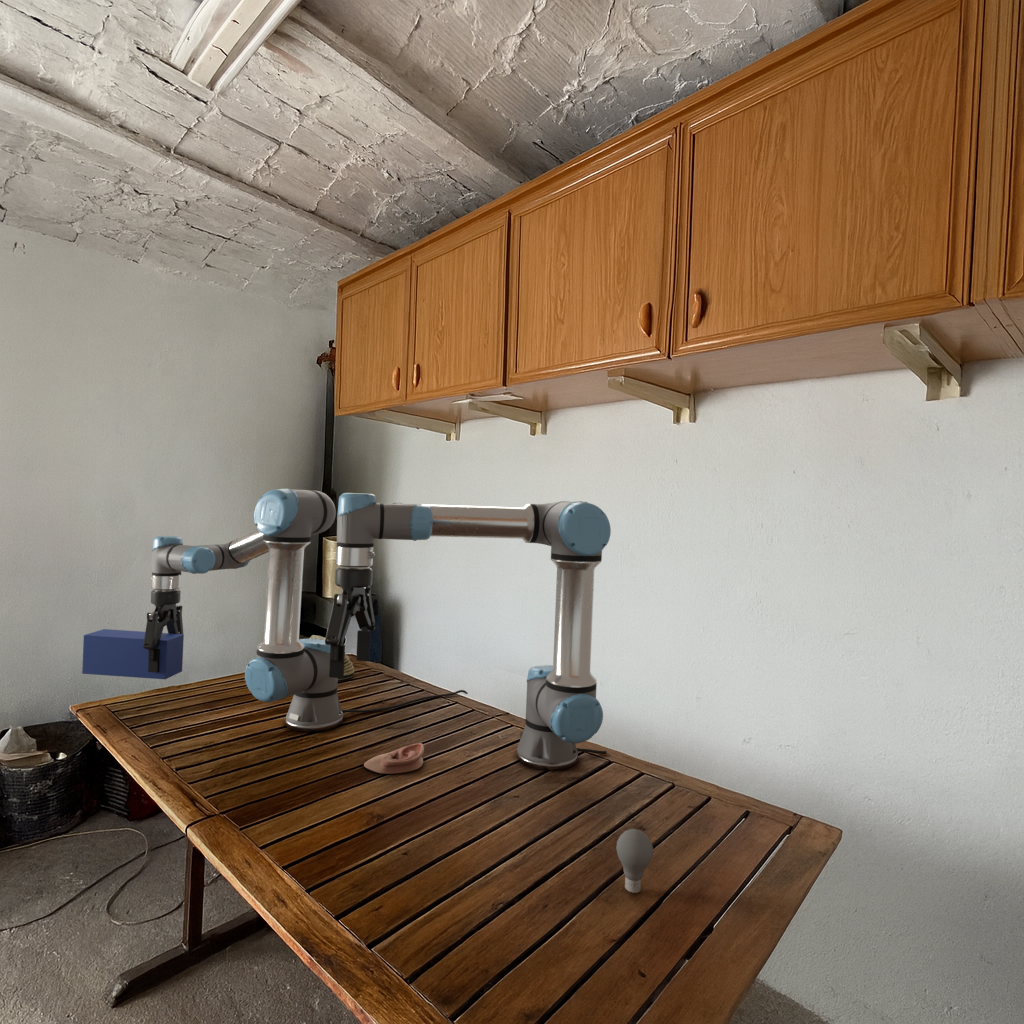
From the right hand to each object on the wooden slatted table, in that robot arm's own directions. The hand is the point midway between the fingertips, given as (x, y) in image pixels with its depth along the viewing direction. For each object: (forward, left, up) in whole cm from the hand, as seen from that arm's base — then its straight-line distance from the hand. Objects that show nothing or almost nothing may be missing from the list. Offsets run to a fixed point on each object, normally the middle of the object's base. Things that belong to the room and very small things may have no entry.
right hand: (350, 668), depth 132 cm
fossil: (-14, -89, -28) cm, 95 cm away
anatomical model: (-15, -13, -28) cm, 34 cm away
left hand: (+36, -76, -16) cm, 86 cm away
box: (+44, -80, -18) cm, 93 cm away
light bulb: (-37, +49, -28) cm, 67 cm away
